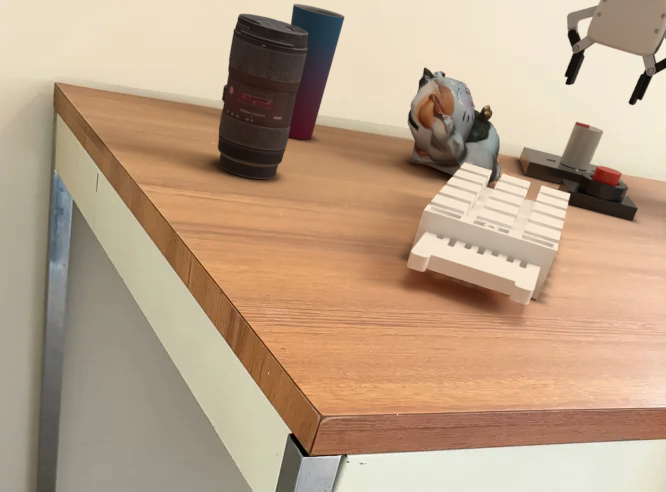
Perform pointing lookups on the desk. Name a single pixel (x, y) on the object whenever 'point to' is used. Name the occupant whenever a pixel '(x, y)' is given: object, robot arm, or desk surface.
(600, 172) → the button
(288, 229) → the desk surface
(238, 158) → the camera lens
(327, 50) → the cup
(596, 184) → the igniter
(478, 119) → the lucky cat figurine
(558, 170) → the hob console
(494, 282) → the organizer
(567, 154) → the hob knob
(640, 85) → the robot arm
